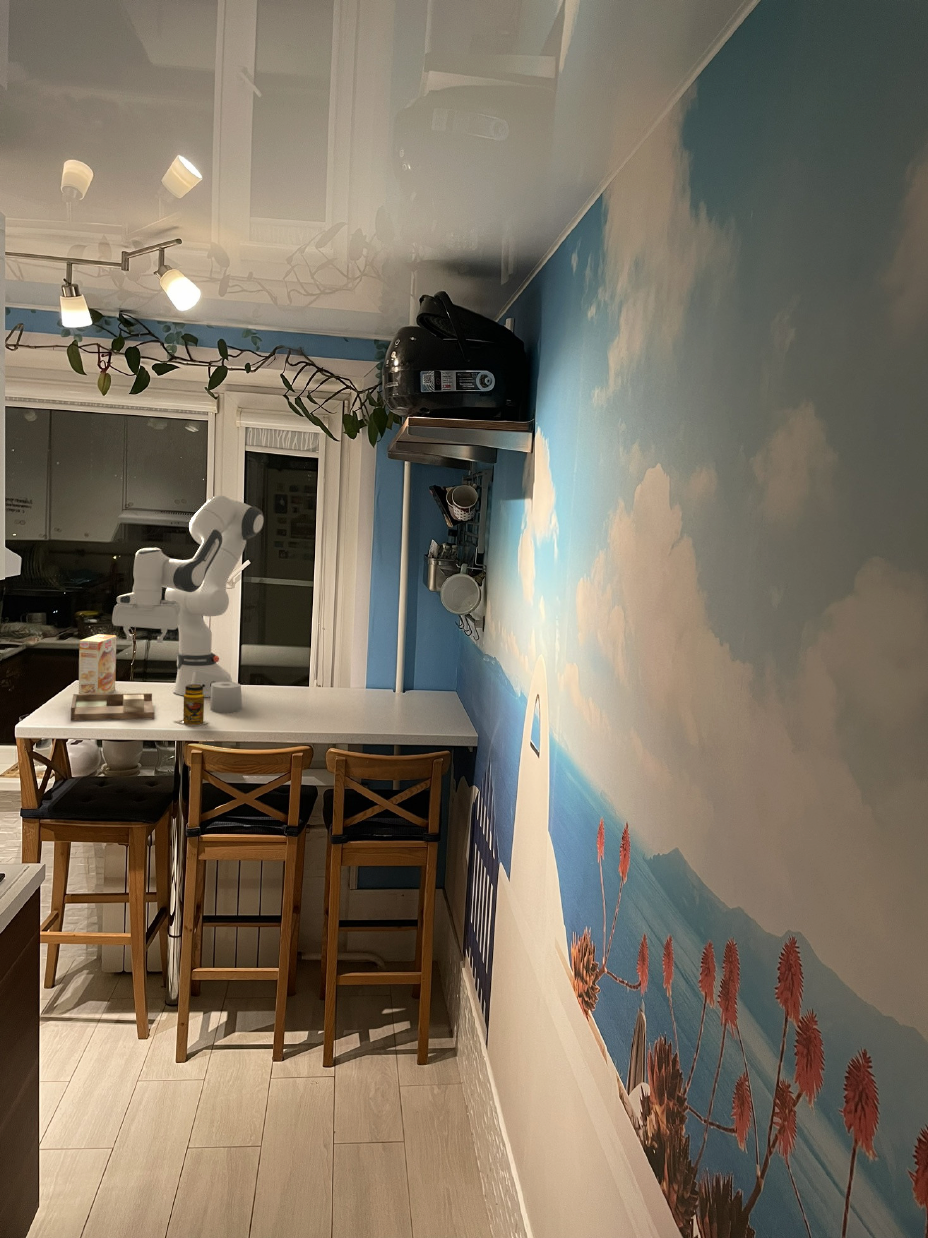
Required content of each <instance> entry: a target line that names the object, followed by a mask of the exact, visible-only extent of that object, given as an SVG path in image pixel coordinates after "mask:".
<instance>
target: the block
mask: <svg viewBox="0 0 928 1238" xmlns="http://www.w3.org/2000/svg"><path fill="white" fill-rule="evenodd" d="M136 711H144V695H123V712H136Z"/></svg>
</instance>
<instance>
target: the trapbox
mask: <svg viewBox="0 0 928 1238" xmlns="http://www.w3.org/2000/svg"><path fill="white" fill-rule="evenodd" d="M123 695H144V711H136V712H123ZM154 711H155V710H154V705H153V693H152V692H146V693H145V692H143V693H142V692H141V693H140V692H138V693H137V692H136V693H134V692H133V693H130V692H129V693H126V692H125V693H108V694H79V693H74V694H73V695H72V699H71V706H70V721H100V720H101V721H103V720H102V719H111V720H138V719H139V720H140V719H141V720H142V719H143V718H153V719H155V712H154ZM143 720H144V719H143Z"/></svg>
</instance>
